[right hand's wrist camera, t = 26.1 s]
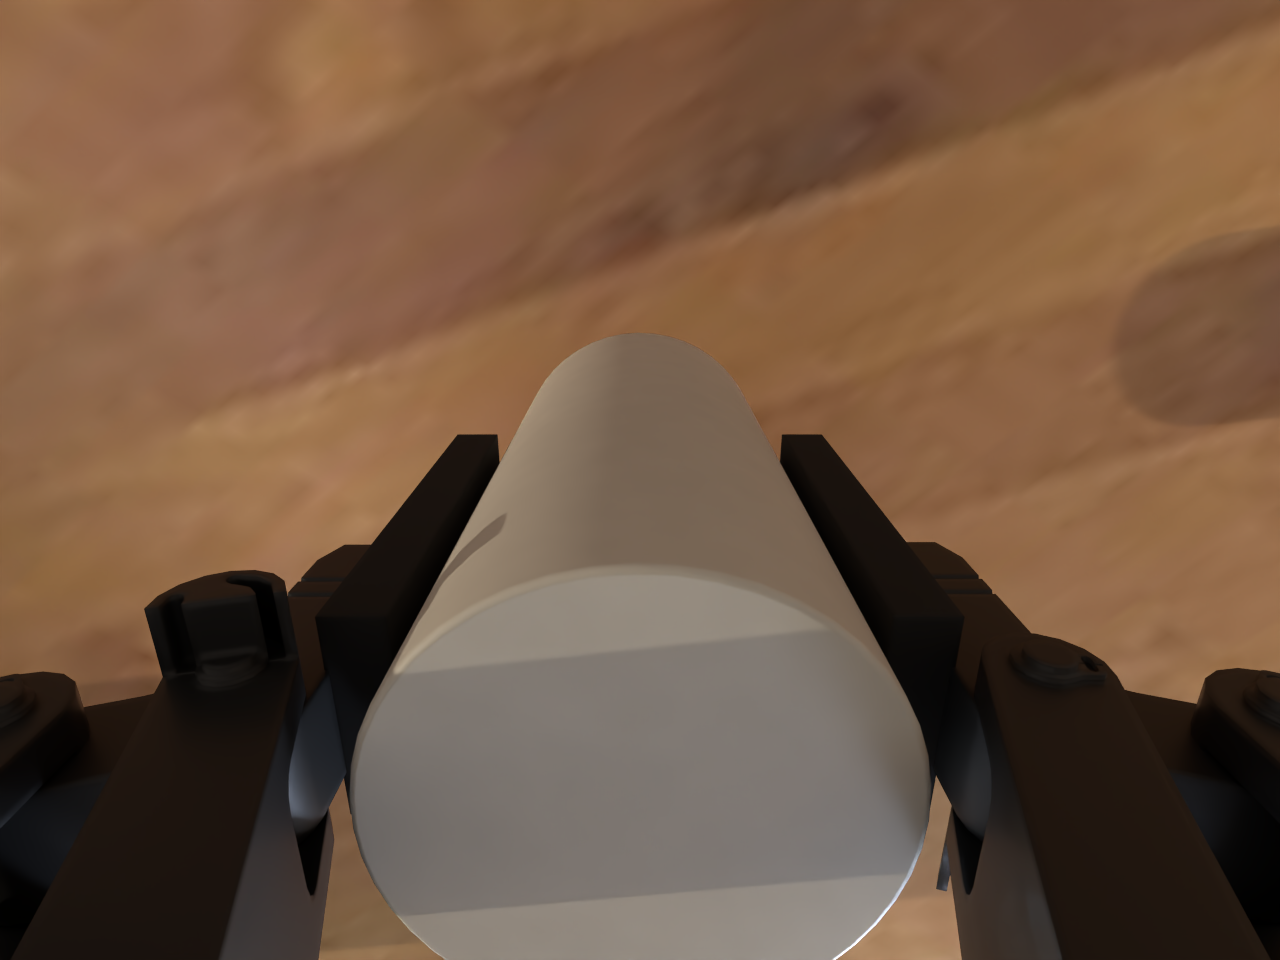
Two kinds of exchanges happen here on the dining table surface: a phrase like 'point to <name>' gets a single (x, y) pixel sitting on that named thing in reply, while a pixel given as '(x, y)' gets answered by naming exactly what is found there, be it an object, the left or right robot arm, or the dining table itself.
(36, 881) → the right robot arm
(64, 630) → the dining table surface
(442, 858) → the canister
